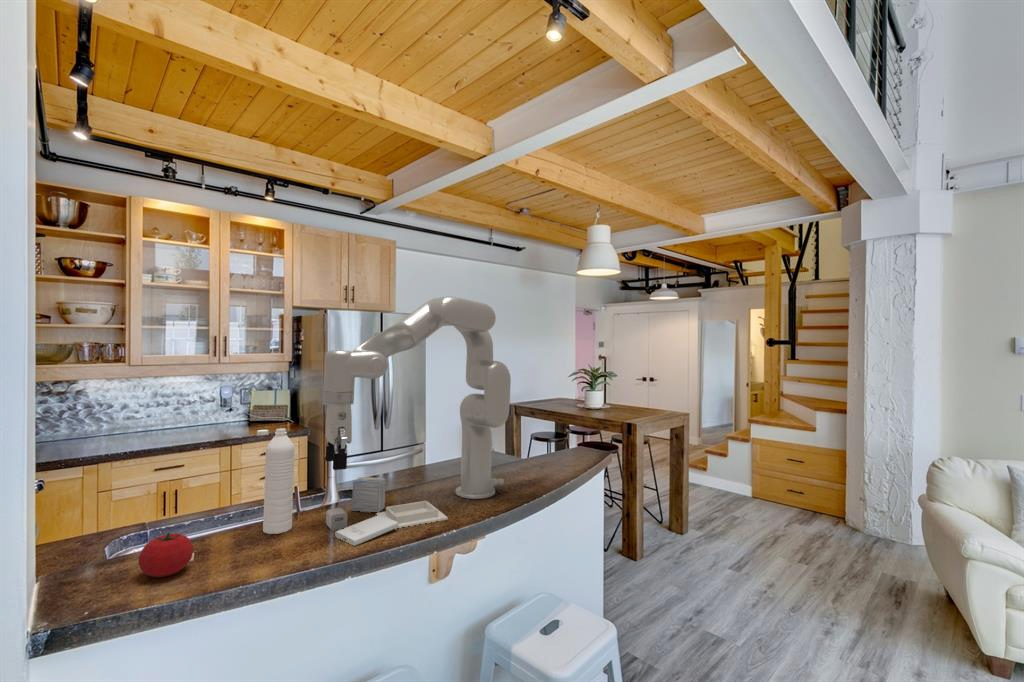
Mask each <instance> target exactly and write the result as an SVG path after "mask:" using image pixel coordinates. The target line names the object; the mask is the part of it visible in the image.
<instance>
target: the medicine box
mask: <svg viewBox="0 0 1024 682" xmlns="http://www.w3.org/2000/svg"><path fill="white" fill-rule="evenodd" d="M351 499H352V502H351V503H352V504H351V505H352V506H351V511H360V512H359V513H371V512H377V513H379V512H380V511H381V512H383V510H384V509H386V503H385V502H386V478H384V477H371V476H369V477H367V476H359V477H357V478H355V480H353V481H352V498H351Z"/></svg>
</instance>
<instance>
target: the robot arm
mask: <svg viewBox="0 0 1024 682" xmlns="http://www.w3.org/2000/svg"><path fill="white" fill-rule="evenodd" d="M495 323H496V313H495V310H494V309H493V308H492V307H491V306H490V305H488V304H486V303H484V302H483V303H482V302H478V301H474V300H470V299H465V298H461V297H457V296H449V295H448V296H442V297H441V296H440V297H435V298H431V299H429V300H426V302H425V303H423V304H422V305H420V306H419V307H417V308H416V309H415V310H413V311H412V312H411V313H409V314H408V315H407V316H406V317H405V316H404V318H402V319H401V320H400V321H398V322H397V323H395V324H393V325H391V326H390V327H388V328H386V329H385V330H382V331H380V332H379V333H377V334H376V335H374V336H372V337H370V338H368V339H367V340H366V341H365V342H363V343H362V344H360V345H359V346H357V347H356V348H355V349H354V350H352V351H351V350H342V349H341V350H338V349H337V350H336V349H334V350H333V349H332V350H328V351H326V353H325V355H324V366H323V367H324V369H323V370H324V371H323V387H322V390H323V392H322V404H323V405H325V406H326V411H325V413H326V414H325V439H326V446H325V462H332V469H333V471H341V470H346V469H347V465H348V444H351V443H352V442H353V440H352V439H353V437H352V436H353V434H352V427H353V425H352V424H353V422H352V421H353V420H352V419H353V417H352V406H351V405H354V403H355V382H356V380H355V379H356V378H361V379H367V380H368V379H369V380H373V379H374V380H375V379H378V378H381V377H382V376H384V375H385V374H386V372H387V370H388V368H389V362H388V359H387V358H390V357H391V356H394V355H395V354H398V353H402V352H405V351H408V350H411V349H414V348H416V347H418V346H419V345H420V344H421V343H423V342H424V341H426V339H428V338H429V337H431V335H433V334H435V332H437V331H438V330H440V329H442V327H447V326H449V327H450V326H452V327H454V328H455V329H456V330H457V331H458V332H459V334H460V335H461V336H462V337H463V339H464V341H465V344H466V345H465V346H466V364H465V365H466V366H465V382H466V383H467V385H468V387H470V388H472V389H475V390H479V391H484V392H483V393H471V394H470V393H469V394H468V395H466V396H465V397H464V398H463V399H462V401H461V403H460V405H459V415H460V422H461V462H460V465H461V467H460V485H459V486H458V487H456V488H455V494H456V496H458V497H460V498H464V499H469V500H470V499H472V500H478V499H479V500H482V499H487V498H490V497H494V496H495V494H496V488H495V487H496V486H502V485H504V484H505V480H504V478H497V477H494V478H493V477H492V475H491V474H492V444H493V443H492V442H493V438H492V430H491V429H492V428H500V427H502V426H503V425H504V424H505V423H506V422H507V421H508V417H509V414H510V405H511V403H510V402H511V380H512V379H511V374H510V369H509V368H508V367H507V365H506V364H504V363H503V362H501V361H498V360H494V345H493V344H494V342H493V339H492V336H491V334H490V332H489V331H490V330H491V329H492V328H493V327H494V325H495Z"/></svg>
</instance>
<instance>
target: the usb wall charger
mask: <svg viewBox="0 0 1024 682" xmlns="http://www.w3.org/2000/svg"><path fill="white" fill-rule="evenodd" d="M325 515H326V516H325V524H326V525H327V527H328V528H329V529H330V530H331V531H332V532H333V531H339V530H341V529H342V528H346V527H348V513H347V512H346V511H345V510H344V509H343V508H342V507H337V508H331V509H328V510H326V513H325ZM338 529H339V530H338Z"/></svg>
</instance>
